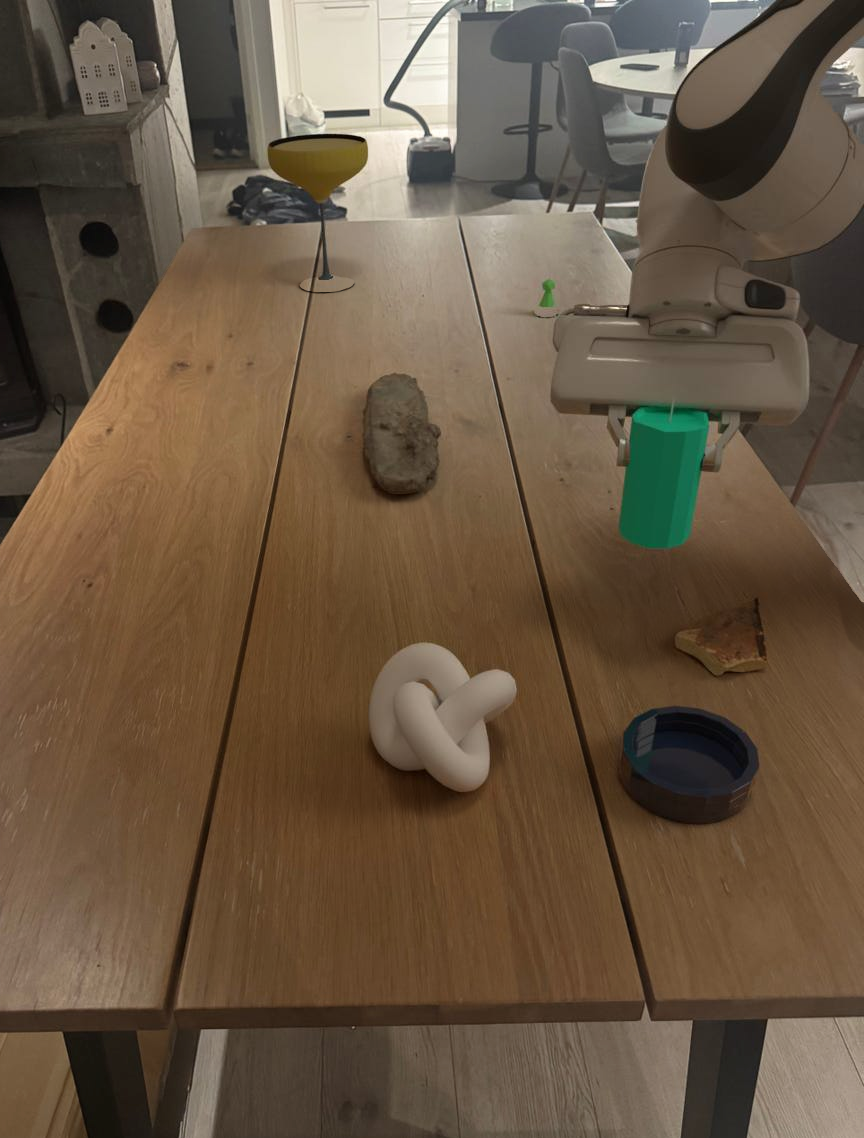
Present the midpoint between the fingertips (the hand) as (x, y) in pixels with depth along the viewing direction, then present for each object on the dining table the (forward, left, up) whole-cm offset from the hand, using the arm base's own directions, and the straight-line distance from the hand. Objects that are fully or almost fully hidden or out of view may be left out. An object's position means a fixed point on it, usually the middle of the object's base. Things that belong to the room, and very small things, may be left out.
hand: (668, 467), depth 78 cm
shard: (-5, -6, -19) cm, 21 cm away
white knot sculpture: (+8, +21, -19) cm, 30 cm away
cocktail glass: (+98, -78, -19) cm, 127 cm away
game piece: (+53, -83, -19) cm, 100 cm away
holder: (-9, +13, -19) cm, 25 cm away
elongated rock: (+46, -27, -19) cm, 57 cm away
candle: (+1, -1, -7) cm, 7 cm away
